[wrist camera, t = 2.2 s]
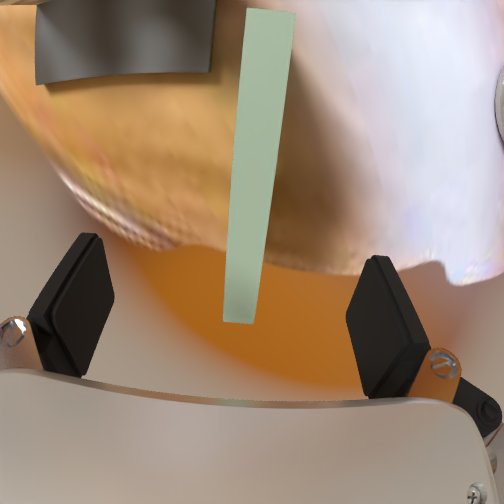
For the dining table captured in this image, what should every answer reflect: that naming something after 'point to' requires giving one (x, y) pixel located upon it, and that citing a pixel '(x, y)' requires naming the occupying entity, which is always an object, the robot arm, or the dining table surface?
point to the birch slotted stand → (120, 37)
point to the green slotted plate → (255, 154)
